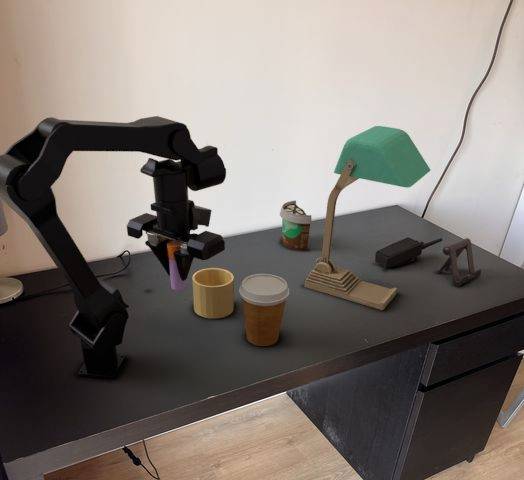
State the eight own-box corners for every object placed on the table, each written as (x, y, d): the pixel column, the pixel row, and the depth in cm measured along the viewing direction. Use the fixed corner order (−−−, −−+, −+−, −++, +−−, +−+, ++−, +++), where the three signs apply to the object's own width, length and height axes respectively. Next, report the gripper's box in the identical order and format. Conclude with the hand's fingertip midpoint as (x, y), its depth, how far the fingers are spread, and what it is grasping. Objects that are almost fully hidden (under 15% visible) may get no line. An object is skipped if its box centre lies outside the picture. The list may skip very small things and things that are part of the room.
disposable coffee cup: (259, 319, 111) (260, 268, 104) (295, 336, 106) (299, 283, 99) (228, 338, 105) (228, 284, 98) (265, 357, 100) (268, 302, 93)
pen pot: (230, 320, 110) (230, 288, 106) (189, 316, 111) (188, 285, 107) (236, 300, 117) (236, 269, 113) (198, 296, 118) (197, 266, 114)
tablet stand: (459, 287, 126) (468, 255, 121) (431, 275, 131) (439, 244, 126) (479, 277, 130) (489, 246, 126) (452, 266, 135) (460, 235, 130)
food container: (272, 236, 147) (273, 201, 142) (292, 234, 149) (295, 199, 143) (287, 254, 138) (289, 217, 132) (308, 252, 139) (312, 215, 134)
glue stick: (184, 291, 100) (181, 247, 94) (169, 290, 100) (164, 246, 95) (188, 284, 102) (185, 240, 97) (173, 282, 102) (169, 239, 97)
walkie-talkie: (369, 253, 135) (425, 232, 143) (379, 275, 135) (435, 253, 142) (382, 244, 129) (440, 222, 137) (392, 267, 129) (450, 244, 137)
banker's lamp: (326, 267, 132) (343, 118, 112) (406, 290, 124) (440, 133, 104) (297, 292, 121) (310, 132, 101) (383, 319, 113) (415, 149, 92)
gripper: (242, 195, 92) (242, 275, 101) (162, 175, 100) (169, 250, 109) (203, 214, 85) (206, 298, 94) (119, 190, 93) (130, 270, 102)
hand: (178, 277), depth 100 cm, fingers closed on glue stick, 3 cm apart
